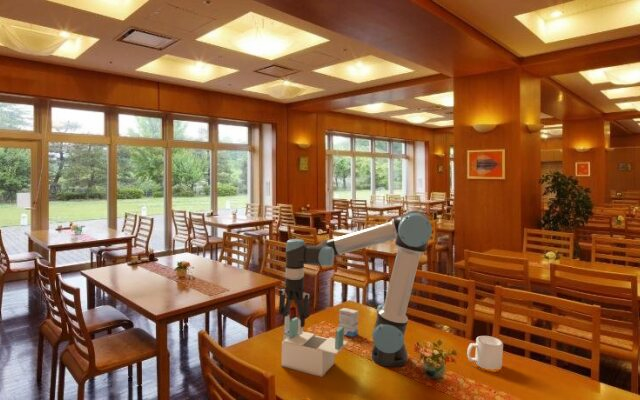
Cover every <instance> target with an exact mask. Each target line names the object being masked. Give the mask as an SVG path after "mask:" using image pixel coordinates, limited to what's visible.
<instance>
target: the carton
mask: <svg viewBox="0 0 640 400" xmlns="http://www.w3.org/2000/svg"><path fill="white" fill-rule="evenodd" d="M328 338H329V337H327V338H326V337H323V336H319V335H315V336H313V337H312V338H311V339H310V340H309V341H307V342H306V343H305V344H304V345H302V346H297V345H293V344H289V343H284V342H283V341H281V364H280V365H281V367H283V368H287V369H291V370H293V371H294V370H295V371H298V372H301V373H306V374H309V375H313V376H317V377H321V378H323V376H324V375H326V374H327V372H328V371H329V370H330V369H331V368H332V367H333V366H334V364H335V356H336V355H335V354H331V353H327V352H322V351H318V350H317V348H318V347H319V346H320V345H321V344H323V343H324V342H325V341H326V340H327V339H328Z"/></svg>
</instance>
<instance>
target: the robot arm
mask: <svg viewBox="0 0 640 400" xmlns="http://www.w3.org/2000/svg"><path fill="white" fill-rule="evenodd" d="M432 234H433V228H432V223H431V221H430V219H429V217H428V216H427V215H426V213H424V212H422V211H419V210H411V211H408V212H406V213H403V214H402V215H399V216H396V217H393V218H392V219H391V220H390V221H388V222H384V223H382V224H378V225H374V226H371V227H367V228H365V229H364V228H363V229H360V230H356V231H354V232H350V233H347V234H343V235H340V236H336V237H334V238H331V239H325V240H321V242H320V243H319V244H317V245H307V244H306V243H305V240H304V239H302V238H301V239H300V238H291V239H288V240H287V241H286V246H285V278H284V279H285V282H284V283H285V285H284V286H285V289H284V288H282V289H279V290H278V294H279V301H278V303H279V306H278V314H280V315H282V323H283V324H284V329H285V332H287V331H289V321H290V320H291V317H290V315H291V314H290V313H289V311H290V307H291V304H292V301H295V303H296V306H297V310H298V311H297V312H298V315H299V318H298V335H301V334H302V333H303V332H304V327H305V325H306V319H309V317H310V298H311V294H310V293H309V292H308V293H307V292H305V290H304V287H305V286H304V285H305V278H304V276H305V265H311V266H323V267H327V266H329V267H330V266H332V265H333V264H334V261H335V257H337V256H340V255H345V254H347V253H352V252H354V251H357V250H358V251H359V250H362V249H364V248H365V249H366V248H370V247H372V246H376V245H379V244H383V243H387V242H391V241H395V242H394V245H395V247H396V248H397V251H396V256H395V259H394V263H393V267H392V272H391V276H390V280H389V284H388V288H387V292H386V296H385V301H384V303H381V304H379V305H378V306H377V308H376V319H375V324H374V328H373V330H372V332H371V333H372V335H371V337H372V343H373V347H372V349H371V359H372V361H373V362H375V364H378V365H380V366H383V367H386V368H387V367H388V368H398V367H403V366H405V365H407V363H408V359H409V358H408V356H409V355H408V351H407V348H406V344H405V334H406V330H407V326H408V322H409V318H408V315H406V314H407V309H408V306H409V302H410V297H411V293H412V291H413V290H412V289H413V286H414V282H415V277H416V273H417V269H418V266H419V262H420V258H421V255H423V254H424V253H426V252H427V248H428V243H429V240H430V239H431V237H432Z"/></svg>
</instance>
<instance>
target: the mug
mask: <svg viewBox="0 0 640 400" xmlns="http://www.w3.org/2000/svg"><path fill="white" fill-rule="evenodd" d="M473 348H475V355H474V357H472V356H471V353H472V350H473ZM503 349H504V342H503V341H502V340H501V339H499V338H497V337H494V336H491V335H490V336H489V335H479V336H477V337H476V339H475V343H474V342H473V343H471V342H470V343H469V345H468V347H467V351H466V352H467V353H466V355H467V358H468V361H469V362H473V363H475V362H476V364H477V365H478V366H480V367H482V368H485V369H491V370H494V369H500V368H501V367H502V368H503V353H504V352H503V351H504V350H503Z"/></svg>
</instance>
